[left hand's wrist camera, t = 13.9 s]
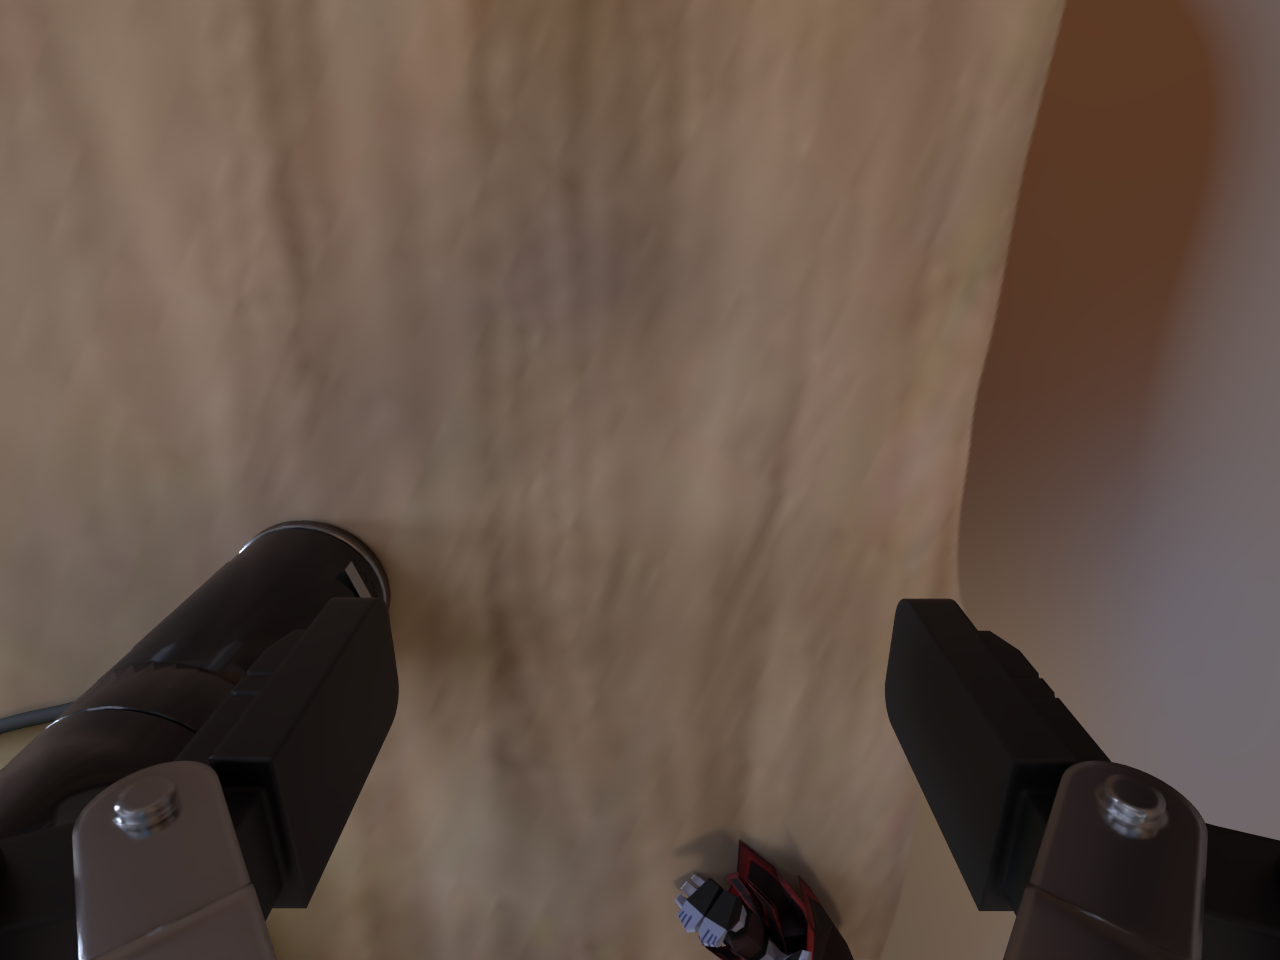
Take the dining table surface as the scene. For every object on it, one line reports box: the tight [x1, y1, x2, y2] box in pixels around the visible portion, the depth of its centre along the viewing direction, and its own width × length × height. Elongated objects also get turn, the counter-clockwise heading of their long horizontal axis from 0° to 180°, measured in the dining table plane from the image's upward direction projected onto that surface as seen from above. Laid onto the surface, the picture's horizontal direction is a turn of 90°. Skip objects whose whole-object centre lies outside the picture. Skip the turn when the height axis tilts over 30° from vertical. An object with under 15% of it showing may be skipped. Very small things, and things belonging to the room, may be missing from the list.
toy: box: [675, 841, 854, 960], centre depth 52 cm, size 12×9×15 cm
